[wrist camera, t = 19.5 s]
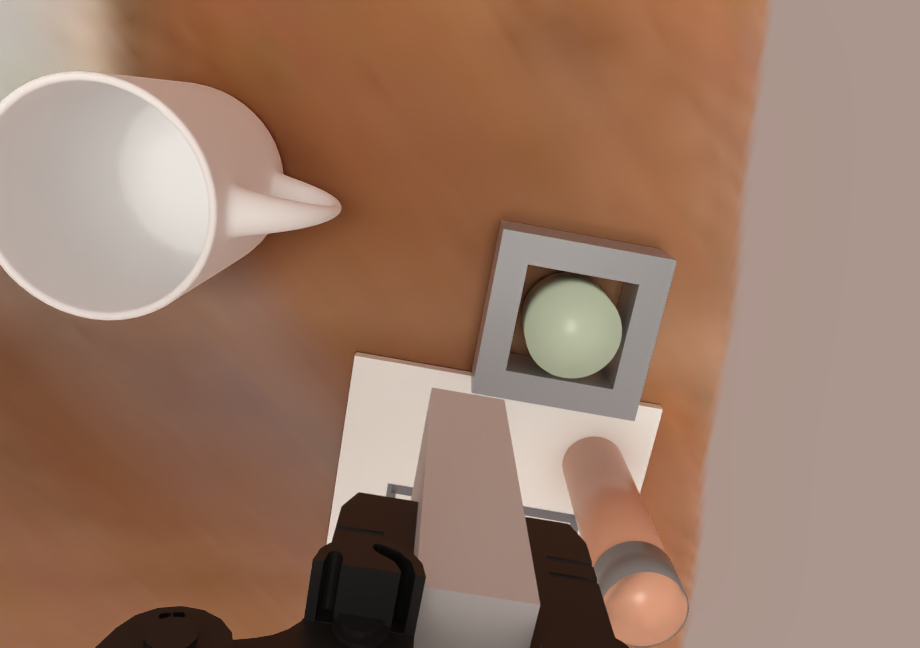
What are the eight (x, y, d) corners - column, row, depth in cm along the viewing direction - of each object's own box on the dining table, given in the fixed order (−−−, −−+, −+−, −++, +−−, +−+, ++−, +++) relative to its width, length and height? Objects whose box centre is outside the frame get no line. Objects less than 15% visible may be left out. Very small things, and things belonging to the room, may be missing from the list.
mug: (349, 285, 38) (302, 350, 27) (109, 250, 37) (-29, 303, 27) (368, 108, 35) (325, 106, 25) (112, 70, 35) (-37, 52, 25)
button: (513, 349, 38) (516, 369, 35) (530, 264, 36) (536, 278, 34) (598, 364, 38) (609, 385, 35) (619, 280, 37) (632, 295, 34)
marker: (554, 485, 40) (589, 637, 28) (570, 429, 39) (612, 562, 27) (614, 498, 40) (673, 654, 28) (631, 442, 39) (700, 580, 28)
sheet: (324, 569, 42) (321, 576, 41) (356, 352, 39) (354, 355, 38) (602, 615, 43) (605, 622, 42) (659, 405, 39) (662, 409, 38)
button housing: (471, 372, 39) (471, 393, 36) (501, 219, 37) (503, 228, 34) (622, 398, 39) (634, 421, 36) (660, 248, 37) (676, 260, 34)
